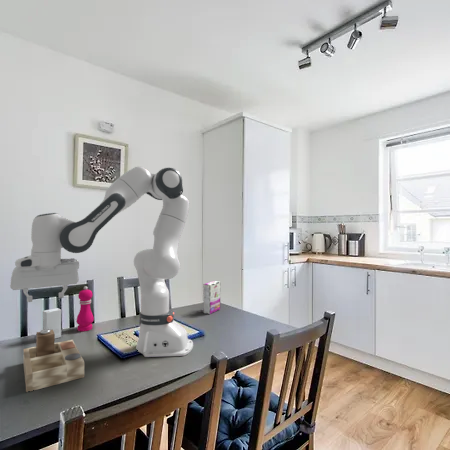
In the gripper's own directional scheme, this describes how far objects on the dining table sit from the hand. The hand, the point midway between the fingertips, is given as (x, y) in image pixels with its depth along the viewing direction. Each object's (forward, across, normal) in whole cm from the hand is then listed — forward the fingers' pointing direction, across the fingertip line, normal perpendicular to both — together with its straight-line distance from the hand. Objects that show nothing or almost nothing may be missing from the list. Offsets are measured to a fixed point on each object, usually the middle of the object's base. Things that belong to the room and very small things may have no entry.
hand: (45, 299), depth 104 cm
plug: (+22, 0, 0) cm, 22 cm away
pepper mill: (+23, -18, -30) cm, 42 cm away
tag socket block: (+23, -2, +6) cm, 23 cm away
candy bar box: (+23, -84, -22) cm, 90 cm away
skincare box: (+23, -4, -26) cm, 35 cm away
